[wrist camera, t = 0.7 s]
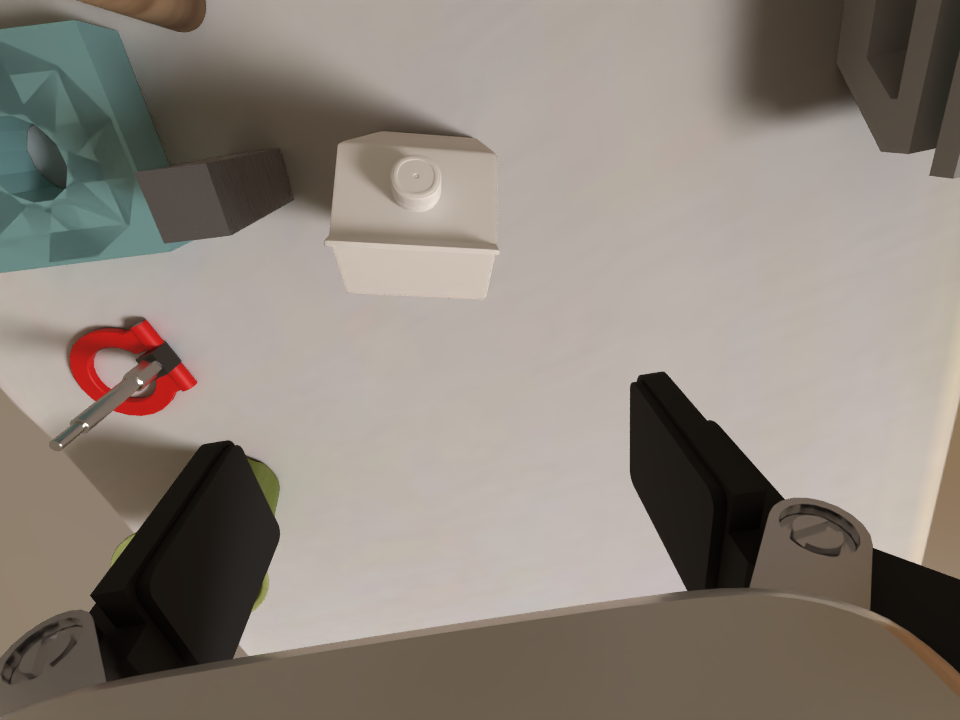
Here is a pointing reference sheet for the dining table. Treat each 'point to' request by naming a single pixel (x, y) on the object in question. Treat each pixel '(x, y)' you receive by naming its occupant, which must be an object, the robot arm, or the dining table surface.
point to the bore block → (74, 149)
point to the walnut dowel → (159, 11)
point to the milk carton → (415, 215)
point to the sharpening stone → (906, 75)
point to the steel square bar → (215, 194)
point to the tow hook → (151, 366)
